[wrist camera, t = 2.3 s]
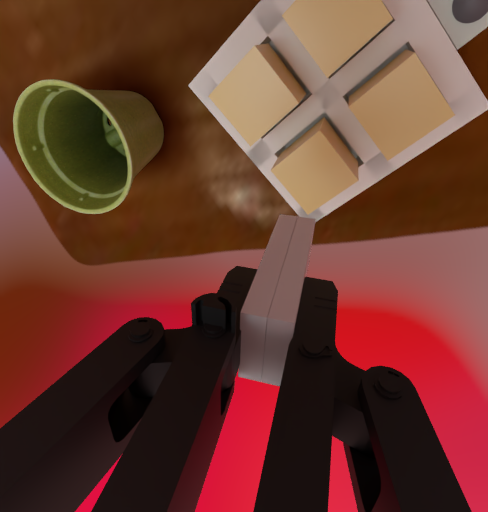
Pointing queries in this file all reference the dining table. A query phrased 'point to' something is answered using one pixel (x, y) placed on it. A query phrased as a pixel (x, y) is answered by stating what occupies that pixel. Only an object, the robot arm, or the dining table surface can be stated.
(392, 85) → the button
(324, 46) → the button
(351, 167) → the tan cube block
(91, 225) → the dining table surface
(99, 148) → the plant pot
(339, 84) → the board
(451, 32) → the pattern card
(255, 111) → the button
